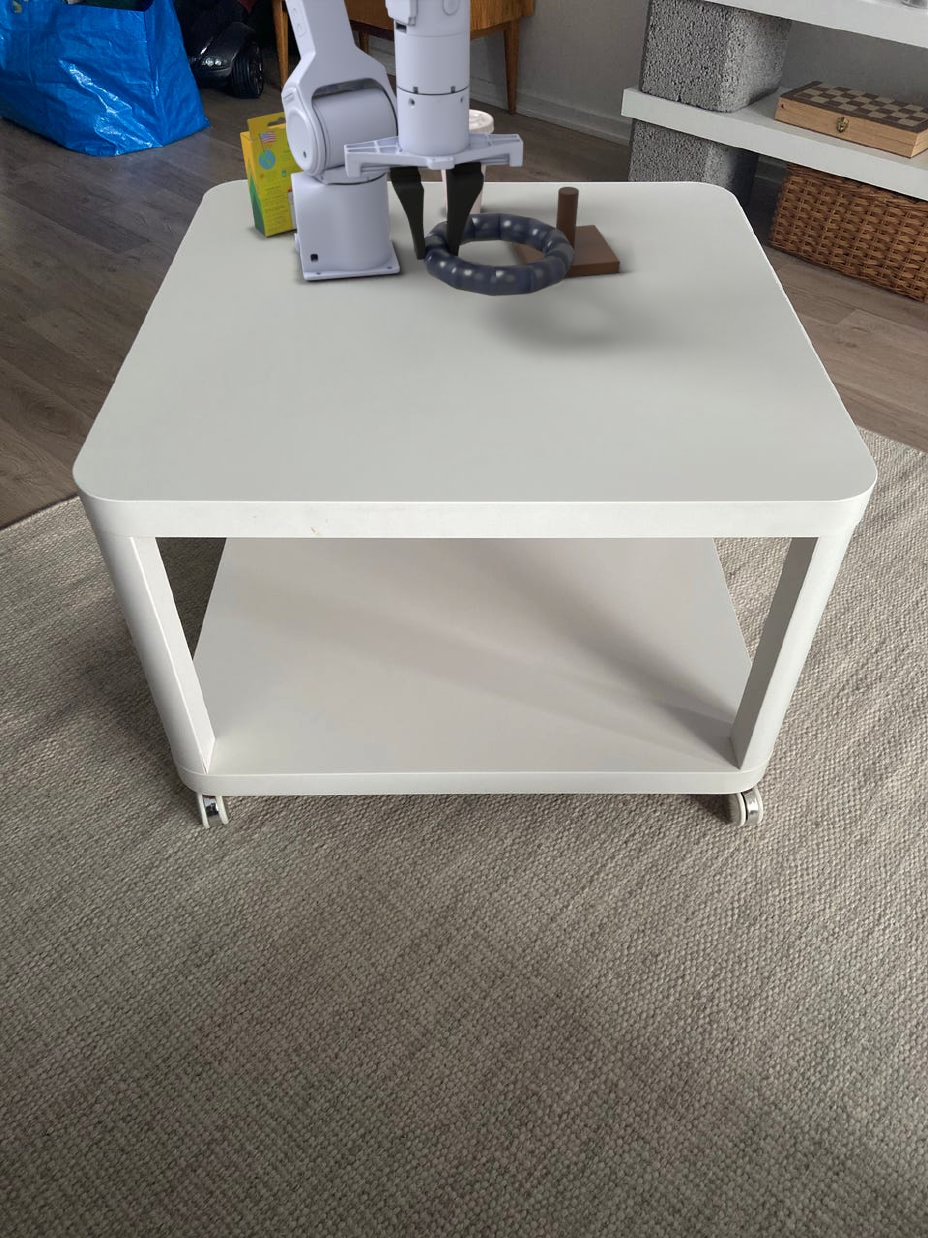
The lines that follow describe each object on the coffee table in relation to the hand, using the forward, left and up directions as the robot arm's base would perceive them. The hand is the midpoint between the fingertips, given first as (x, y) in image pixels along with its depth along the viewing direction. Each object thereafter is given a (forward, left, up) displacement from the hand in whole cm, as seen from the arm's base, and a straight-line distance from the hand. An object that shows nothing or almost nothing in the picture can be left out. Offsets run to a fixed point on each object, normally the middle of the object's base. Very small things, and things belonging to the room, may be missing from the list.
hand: (435, 253), depth 85 cm
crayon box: (-12, +24, -7) cm, 28 cm away
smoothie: (+7, +24, -7) cm, 26 cm away
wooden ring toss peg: (+15, +11, -6) cm, 20 cm away
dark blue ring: (+6, 0, 0) cm, 6 cm away
